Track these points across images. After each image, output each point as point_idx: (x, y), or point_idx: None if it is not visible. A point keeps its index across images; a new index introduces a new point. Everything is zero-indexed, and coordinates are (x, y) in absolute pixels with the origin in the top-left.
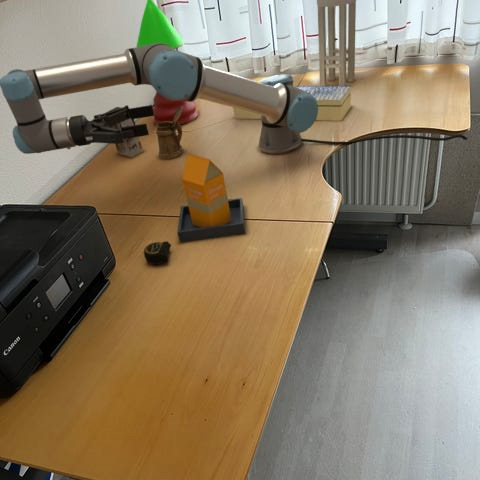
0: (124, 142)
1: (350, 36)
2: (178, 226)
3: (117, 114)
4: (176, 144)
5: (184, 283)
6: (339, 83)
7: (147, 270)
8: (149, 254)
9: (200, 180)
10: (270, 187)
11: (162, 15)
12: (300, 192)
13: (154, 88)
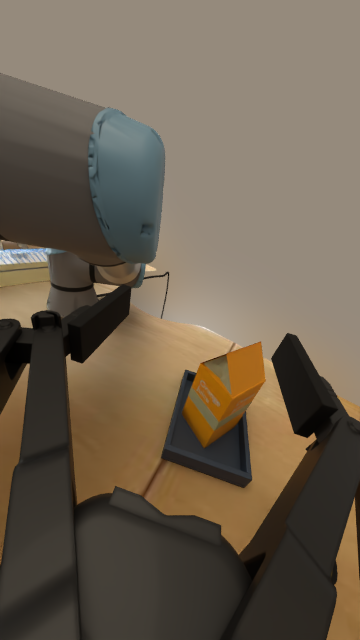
0: None
1: None
2: (233, 472)
3: (64, 382)
4: None
5: (353, 510)
6: (22, 248)
7: (337, 598)
8: (335, 570)
9: (259, 377)
10: (155, 345)
11: None
12: (180, 335)
13: (107, 231)
